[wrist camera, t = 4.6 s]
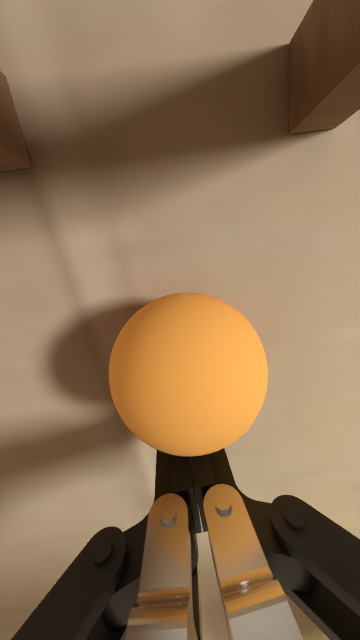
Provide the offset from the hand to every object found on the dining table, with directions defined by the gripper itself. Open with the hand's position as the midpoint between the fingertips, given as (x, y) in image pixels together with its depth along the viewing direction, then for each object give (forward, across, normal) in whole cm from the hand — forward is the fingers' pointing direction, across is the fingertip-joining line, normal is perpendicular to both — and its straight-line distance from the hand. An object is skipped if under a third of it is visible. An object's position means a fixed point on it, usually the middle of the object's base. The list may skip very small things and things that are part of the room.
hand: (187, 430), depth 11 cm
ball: (-1, 0, -4) cm, 4 cm away
